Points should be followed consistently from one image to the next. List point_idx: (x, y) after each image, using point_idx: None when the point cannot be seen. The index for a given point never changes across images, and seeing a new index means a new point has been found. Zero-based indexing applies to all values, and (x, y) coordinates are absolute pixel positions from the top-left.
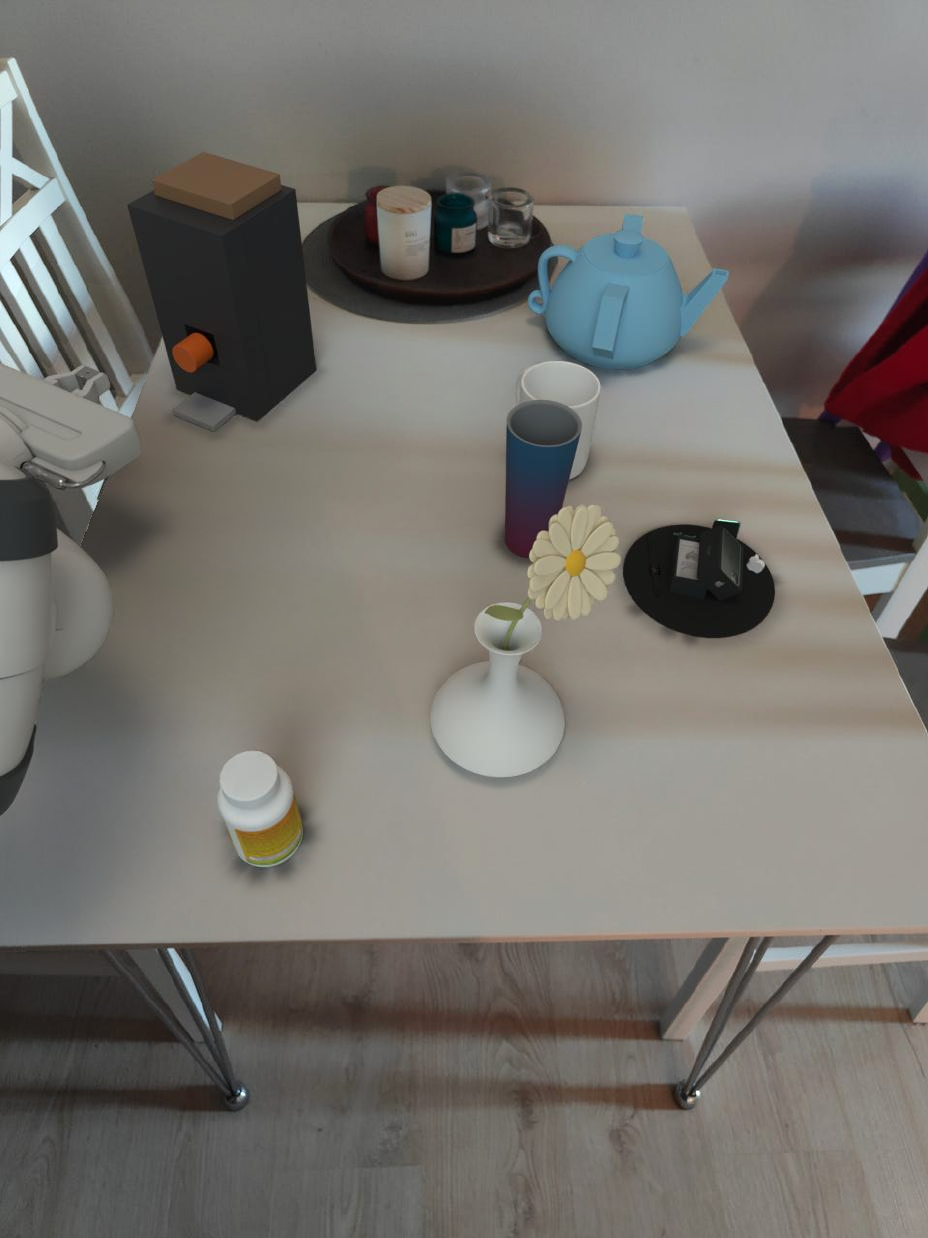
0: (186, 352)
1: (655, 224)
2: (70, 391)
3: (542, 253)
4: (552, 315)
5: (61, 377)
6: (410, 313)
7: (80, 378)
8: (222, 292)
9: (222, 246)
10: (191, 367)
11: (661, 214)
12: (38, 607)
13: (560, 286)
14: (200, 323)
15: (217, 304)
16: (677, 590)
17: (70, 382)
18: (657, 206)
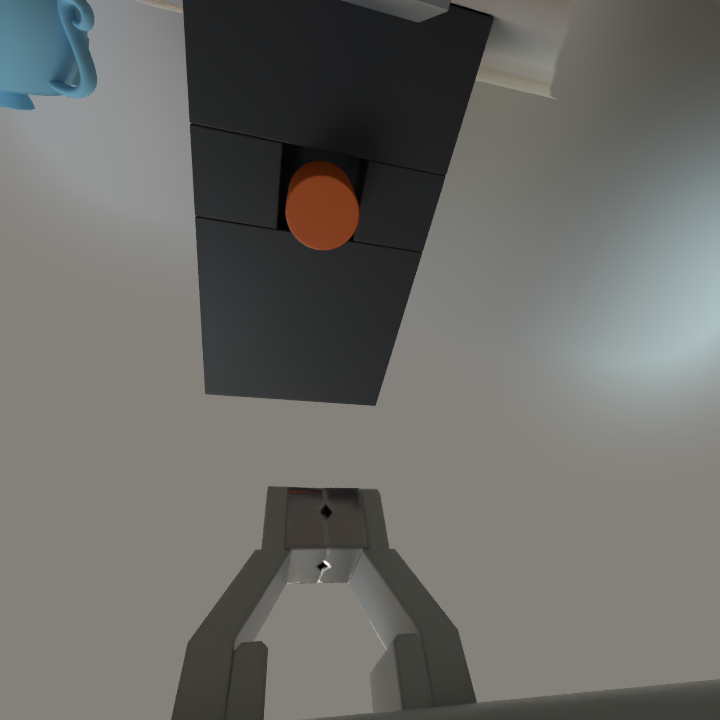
0: (304, 237)
1: (148, 3)
2: (386, 591)
3: (92, 89)
4: (17, 12)
5: (378, 634)
6: None
7: (329, 577)
8: (225, 318)
9: (207, 382)
10: (305, 193)
11: (157, 6)
12: None
13: (38, 54)
14: (304, 250)
15: (244, 295)
16: None
17: (369, 596)
18: (170, 10)
